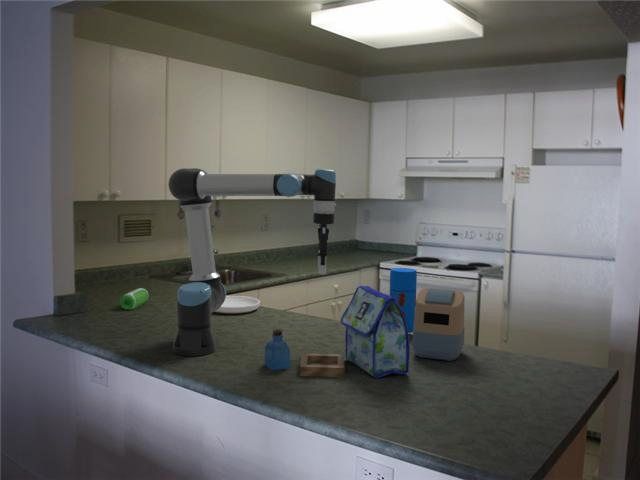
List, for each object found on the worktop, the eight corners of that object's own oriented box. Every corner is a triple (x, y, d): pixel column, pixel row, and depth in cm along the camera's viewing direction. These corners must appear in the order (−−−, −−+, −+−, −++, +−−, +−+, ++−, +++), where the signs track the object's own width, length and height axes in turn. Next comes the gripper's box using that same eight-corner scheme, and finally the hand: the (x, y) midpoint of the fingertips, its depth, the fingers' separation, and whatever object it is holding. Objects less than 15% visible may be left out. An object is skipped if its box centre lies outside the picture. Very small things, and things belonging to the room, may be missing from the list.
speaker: (135, 302, 293) (135, 287, 292) (149, 303, 292) (149, 287, 291) (119, 310, 276) (118, 294, 275) (134, 311, 275) (134, 294, 274)
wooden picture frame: (300, 375, 191) (300, 366, 191) (302, 362, 205) (302, 353, 205) (344, 377, 191) (344, 367, 191) (343, 363, 205) (343, 354, 205)
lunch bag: (337, 360, 208) (338, 285, 205) (379, 355, 214) (381, 282, 211) (367, 381, 187) (369, 298, 184) (413, 375, 194) (416, 295, 191)
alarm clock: (409, 358, 211) (412, 293, 209) (419, 346, 227) (421, 285, 224) (458, 364, 206) (461, 297, 203) (464, 351, 221) (467, 288, 219)
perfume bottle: (272, 370, 196) (272, 334, 195) (264, 365, 202) (265, 329, 200) (289, 367, 199) (290, 332, 198) (281, 362, 204) (282, 327, 203)
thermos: (414, 333, 244) (416, 272, 241) (387, 332, 246) (389, 271, 243) (415, 327, 254) (417, 268, 252) (389, 325, 257) (391, 267, 254)
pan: (231, 318, 264) (231, 304, 263) (169, 303, 291) (168, 290, 290) (271, 309, 283) (271, 296, 283) (209, 296, 311) (209, 283, 310)
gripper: (336, 215, 206) (333, 277, 208) (333, 210, 230) (330, 265, 233) (313, 214, 205) (311, 276, 208) (313, 209, 230) (311, 265, 233)
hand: (321, 271), depth 220 cm, fingers open, 13 cm apart
